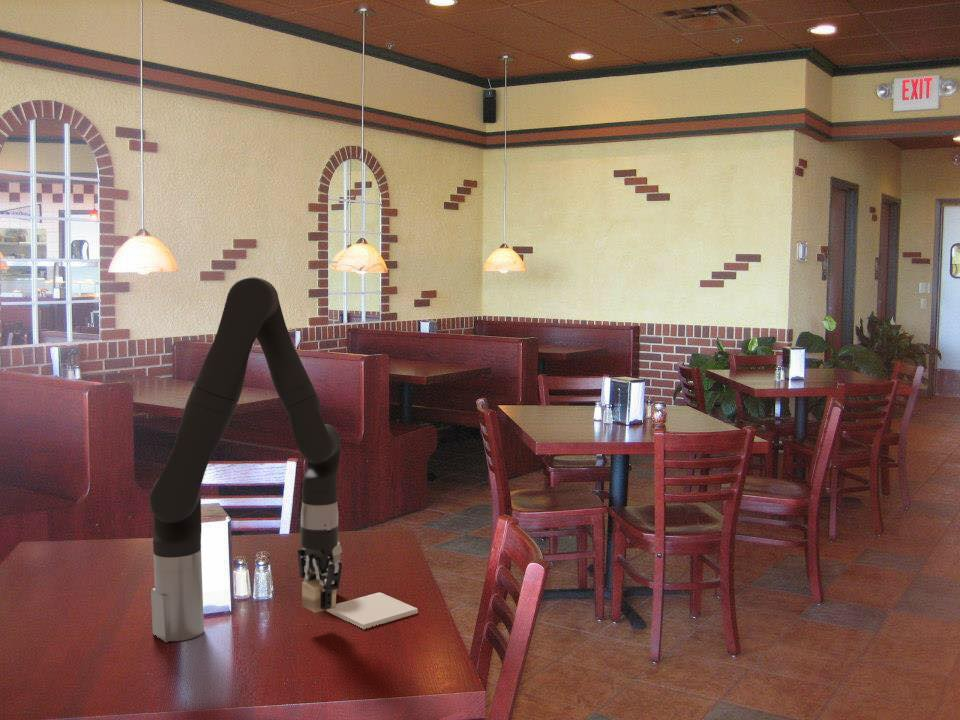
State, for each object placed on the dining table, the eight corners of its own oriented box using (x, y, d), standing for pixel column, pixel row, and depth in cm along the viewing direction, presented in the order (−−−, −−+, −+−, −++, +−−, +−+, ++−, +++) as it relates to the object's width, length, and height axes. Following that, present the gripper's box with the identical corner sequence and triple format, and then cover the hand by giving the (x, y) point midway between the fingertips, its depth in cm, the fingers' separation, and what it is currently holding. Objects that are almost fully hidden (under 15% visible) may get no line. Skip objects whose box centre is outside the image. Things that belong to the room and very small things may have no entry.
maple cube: (314, 612, 198) (314, 588, 198) (301, 605, 202) (301, 582, 201) (335, 607, 201) (336, 583, 201) (322, 600, 205) (323, 577, 205)
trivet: (363, 629, 202) (363, 624, 202) (326, 611, 212) (326, 606, 212) (417, 613, 211) (417, 608, 211) (379, 596, 222) (379, 592, 222)
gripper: (285, 518, 203) (285, 598, 205) (321, 534, 192) (321, 618, 194) (317, 513, 208) (316, 591, 209) (354, 528, 197) (353, 610, 199)
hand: (318, 604), depth 202 cm, fingers closed on maple cube, 5 cm apart
